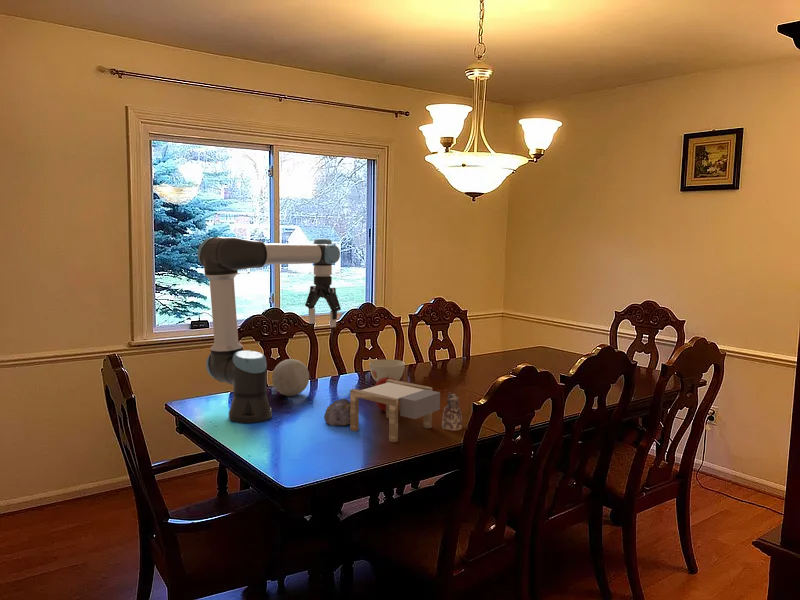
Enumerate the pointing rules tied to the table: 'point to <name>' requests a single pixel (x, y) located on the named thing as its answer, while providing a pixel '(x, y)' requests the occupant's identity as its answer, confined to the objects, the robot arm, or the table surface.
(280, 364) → the decorative sphere
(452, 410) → the figurine
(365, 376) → the table surface
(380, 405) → the apple
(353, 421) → the frame
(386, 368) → the bowl
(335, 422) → the rock
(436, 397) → the trapdoor
